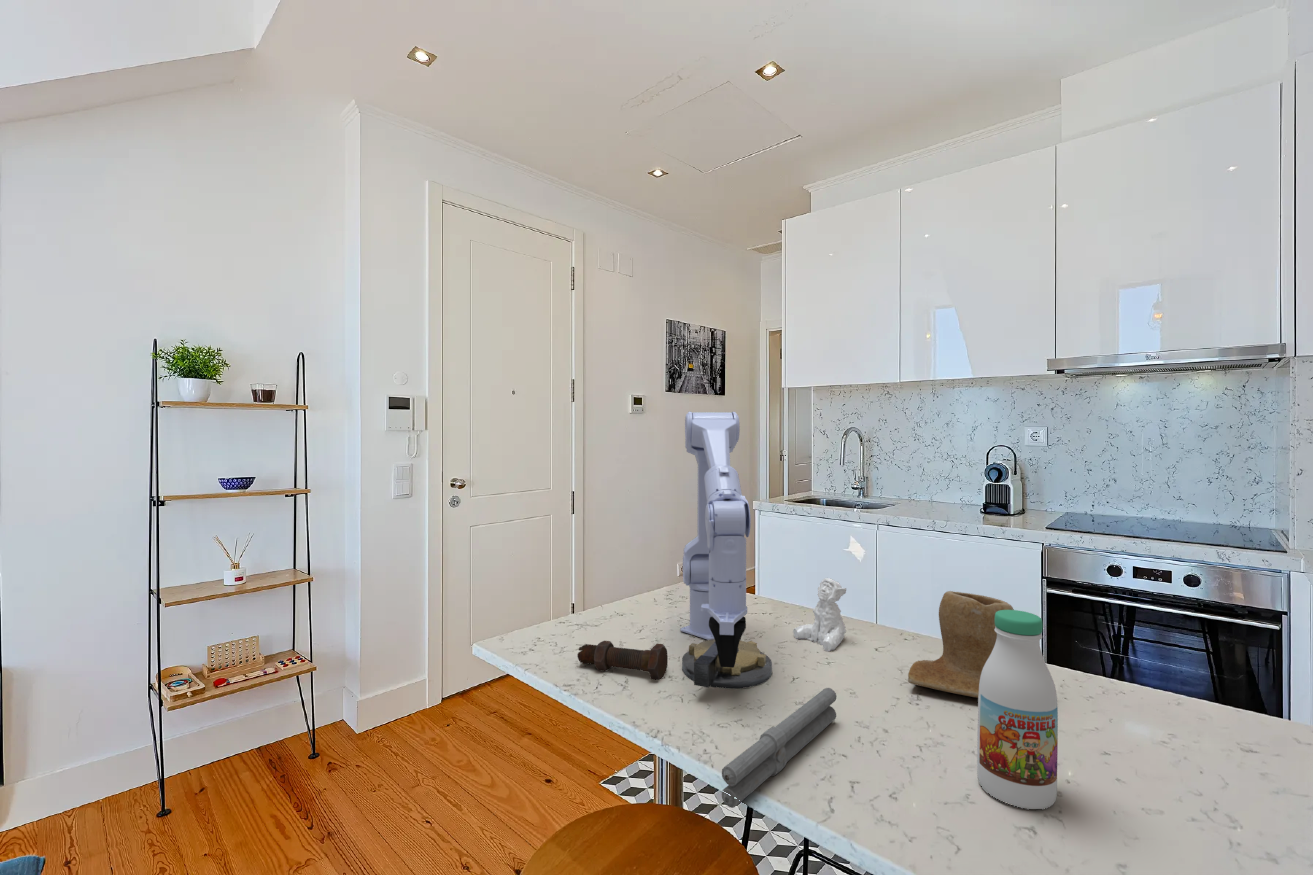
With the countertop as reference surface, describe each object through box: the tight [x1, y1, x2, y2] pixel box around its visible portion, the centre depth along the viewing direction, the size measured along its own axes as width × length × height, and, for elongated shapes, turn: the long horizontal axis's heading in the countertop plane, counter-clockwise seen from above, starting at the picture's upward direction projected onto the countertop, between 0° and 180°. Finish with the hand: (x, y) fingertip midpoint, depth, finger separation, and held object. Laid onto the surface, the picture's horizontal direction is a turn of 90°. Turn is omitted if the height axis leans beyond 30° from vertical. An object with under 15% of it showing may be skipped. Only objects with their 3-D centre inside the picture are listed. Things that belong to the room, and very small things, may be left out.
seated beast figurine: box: [792, 577, 847, 652], centre depth 115 cm, size 10×9×12 cm
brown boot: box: [907, 590, 1015, 699], centre depth 94 cm, size 15×12×15 cm
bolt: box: [577, 640, 669, 682], centre depth 101 cm, size 6×5×15 cm
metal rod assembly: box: [721, 687, 837, 809], centre depth 74 cm, size 26×3×5 cm, turn 140°
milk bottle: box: [976, 609, 1059, 810], centre depth 68 cm, size 8×8×20 cm
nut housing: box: [681, 650, 773, 690], centre depth 102 cm, size 15×15×2 cm
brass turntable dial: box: [688, 639, 767, 689], centre depth 98 cm, size 19×13×4 cm
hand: (727, 665), depth 93 cm, fingers closed
